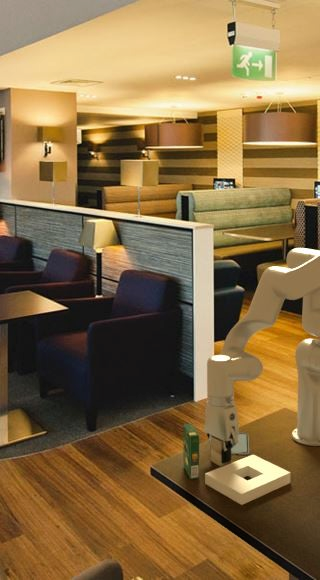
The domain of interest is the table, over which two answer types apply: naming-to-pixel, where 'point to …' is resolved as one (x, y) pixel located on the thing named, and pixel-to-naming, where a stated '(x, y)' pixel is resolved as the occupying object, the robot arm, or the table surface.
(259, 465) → the socket plate
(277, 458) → the table surface
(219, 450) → the plug
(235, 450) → the smartphone
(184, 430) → the coffee box
